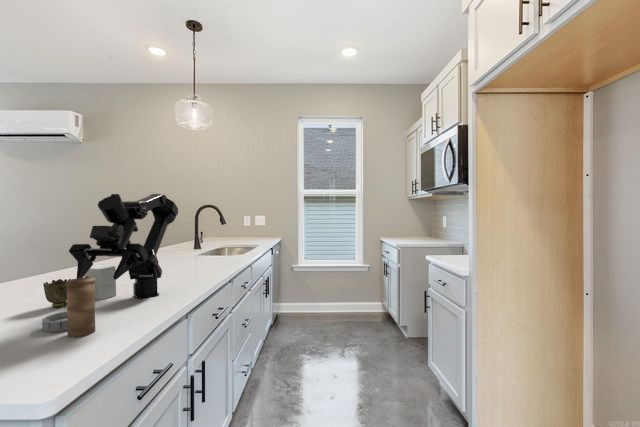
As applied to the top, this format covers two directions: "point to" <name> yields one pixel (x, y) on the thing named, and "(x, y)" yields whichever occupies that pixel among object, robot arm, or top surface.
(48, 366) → the top surface
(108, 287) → the small box
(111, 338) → the top surface
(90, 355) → the top surface
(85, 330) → the brown cylinder
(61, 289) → the ornate scalloped vase
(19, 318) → the top surface
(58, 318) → the ring
